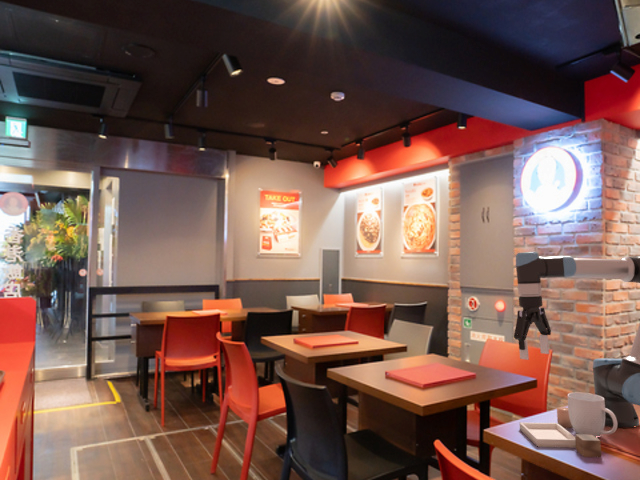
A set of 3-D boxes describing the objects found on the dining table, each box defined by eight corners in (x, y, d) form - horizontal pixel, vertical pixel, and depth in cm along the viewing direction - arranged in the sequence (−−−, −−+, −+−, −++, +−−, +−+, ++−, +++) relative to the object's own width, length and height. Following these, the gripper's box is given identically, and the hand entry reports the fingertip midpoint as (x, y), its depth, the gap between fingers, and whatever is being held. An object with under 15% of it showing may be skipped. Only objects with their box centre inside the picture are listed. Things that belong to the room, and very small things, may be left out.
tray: (557, 430, 157) (557, 423, 158) (579, 447, 142) (579, 440, 142) (519, 429, 159) (519, 422, 159) (537, 446, 143) (536, 439, 143)
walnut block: (592, 450, 139) (591, 434, 140) (601, 457, 134) (600, 440, 135) (576, 450, 140) (575, 434, 140) (583, 457, 135) (582, 440, 135)
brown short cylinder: (569, 423, 164) (568, 407, 164) (575, 428, 159) (575, 411, 159) (555, 423, 164) (554, 407, 165) (561, 428, 159) (560, 411, 160)
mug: (625, 440, 147) (623, 400, 148) (610, 447, 141) (607, 405, 142) (579, 427, 160) (577, 390, 161) (562, 434, 154) (560, 395, 155)
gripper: (538, 293, 168) (542, 350, 166) (500, 297, 153) (504, 360, 152) (558, 293, 162) (563, 352, 160) (520, 298, 147) (525, 363, 146)
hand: (534, 356), depth 156 cm, fingers open, 13 cm apart
